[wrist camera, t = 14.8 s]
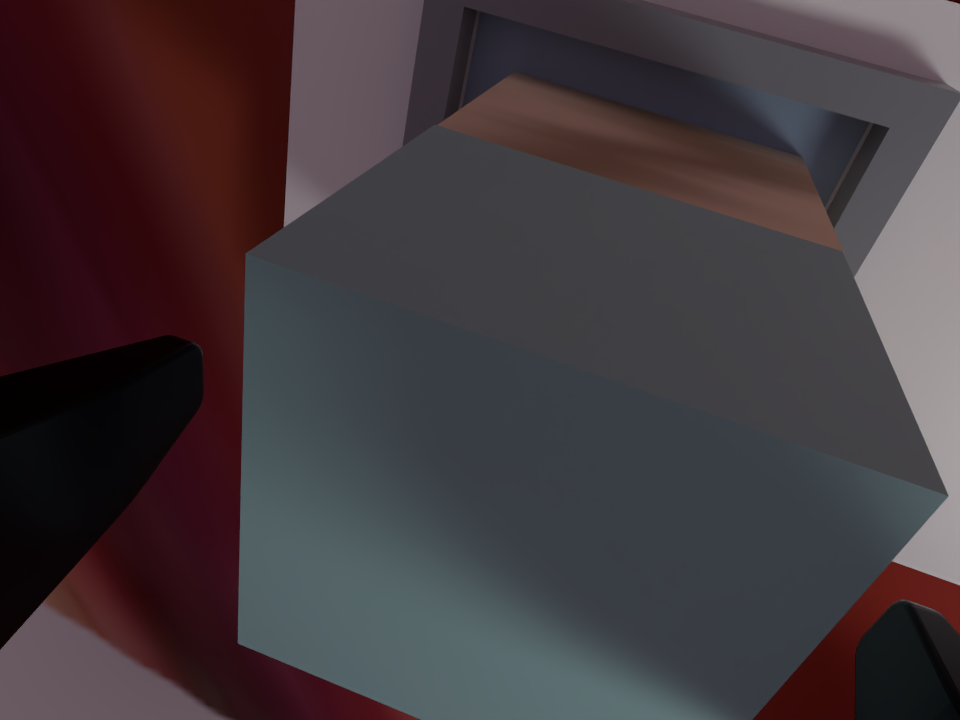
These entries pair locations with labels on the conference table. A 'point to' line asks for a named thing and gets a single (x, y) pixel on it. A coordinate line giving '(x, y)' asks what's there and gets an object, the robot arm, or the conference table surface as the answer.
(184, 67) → the conference table surface
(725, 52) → the grey tray
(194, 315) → the conference table surface
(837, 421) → the teal block
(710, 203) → the birch block
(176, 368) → the robot arm
